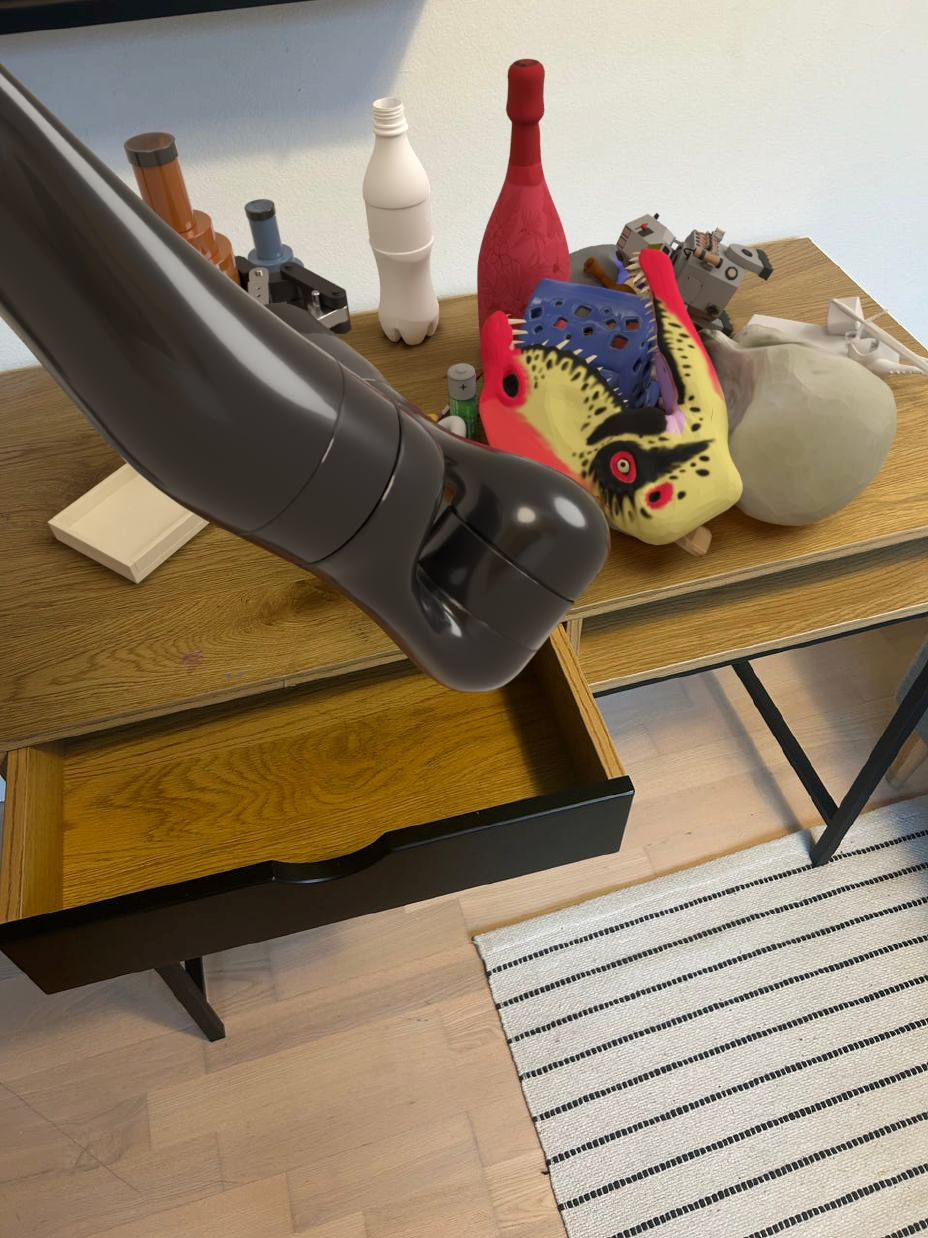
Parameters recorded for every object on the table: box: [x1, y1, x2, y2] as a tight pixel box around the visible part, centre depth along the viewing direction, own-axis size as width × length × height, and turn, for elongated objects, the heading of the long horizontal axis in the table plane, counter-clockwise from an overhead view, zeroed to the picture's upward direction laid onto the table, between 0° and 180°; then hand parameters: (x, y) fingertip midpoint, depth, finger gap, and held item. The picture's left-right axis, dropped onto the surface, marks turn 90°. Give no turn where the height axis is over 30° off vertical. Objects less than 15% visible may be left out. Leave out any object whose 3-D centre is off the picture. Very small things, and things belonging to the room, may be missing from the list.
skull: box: [650, 324, 898, 526], centre depth 76 cm, size 15×18×20 cm
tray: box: [47, 462, 211, 585], centre depth 88 cm, size 35×11×2 cm, turn 147°
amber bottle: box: [123, 131, 242, 288], centre depth 55 cm, size 6×6×20 cm
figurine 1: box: [615, 212, 775, 338], centre depth 96 cm, size 9×12×15 cm
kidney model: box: [569, 243, 645, 318], centre depth 103 cm, size 15×7×18 cm
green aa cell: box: [436, 370, 484, 423], centre depth 89 cm, size 8×1×5 cm
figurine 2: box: [743, 296, 928, 381], centre depth 90 cm, size 12×8×25 cm
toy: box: [479, 249, 743, 546], centre depth 73 cm, size 7×27×20 cm
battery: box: [447, 363, 479, 443], centre depth 84 cm, size 3×3×10 cm
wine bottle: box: [476, 58, 570, 349], centre depth 87 cm, size 10×10×30 cm
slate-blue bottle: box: [243, 198, 305, 304], centre depth 87 cm, size 6×6×20 cm
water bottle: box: [362, 97, 440, 346], centre depth 93 cm, size 7×7×25 cm
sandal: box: [602, 510, 713, 558], centre depth 77 cm, size 7×16×5 cm
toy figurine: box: [583, 257, 638, 328], centre depth 97 cm, size 12×4×7 cm
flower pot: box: [518, 279, 660, 410], centre depth 84 cm, size 13×13×12 cm
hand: (179, 283), depth 55 cm, fingers closed on amber bottle, 6 cm apart
